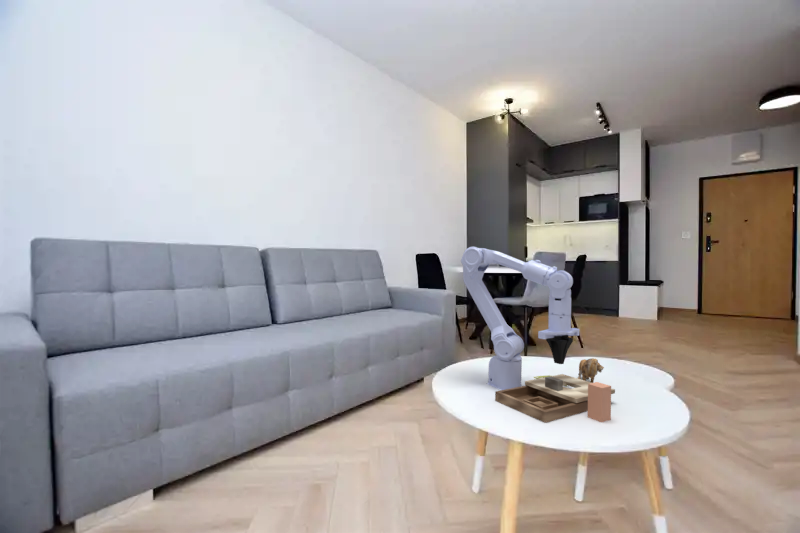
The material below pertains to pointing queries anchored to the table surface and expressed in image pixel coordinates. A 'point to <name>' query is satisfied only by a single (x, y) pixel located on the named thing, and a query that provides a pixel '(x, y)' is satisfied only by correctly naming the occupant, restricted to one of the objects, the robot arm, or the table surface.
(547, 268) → the robot arm
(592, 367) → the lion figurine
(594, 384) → the terracotta rectangular block
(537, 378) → the key
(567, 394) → the lid
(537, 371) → the table surface
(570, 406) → the wooden box
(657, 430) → the table surface
